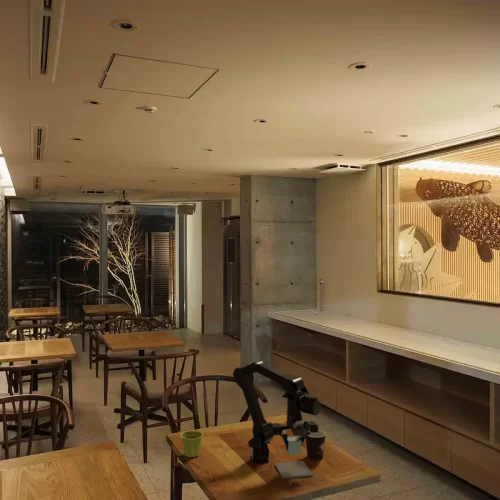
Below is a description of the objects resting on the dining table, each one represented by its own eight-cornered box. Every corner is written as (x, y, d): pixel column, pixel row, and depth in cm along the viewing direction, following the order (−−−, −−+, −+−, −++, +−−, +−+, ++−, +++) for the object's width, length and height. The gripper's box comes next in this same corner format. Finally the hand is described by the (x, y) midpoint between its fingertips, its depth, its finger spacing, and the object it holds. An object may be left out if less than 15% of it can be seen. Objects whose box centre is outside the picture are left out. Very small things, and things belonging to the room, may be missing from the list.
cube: (289, 455, 200) (289, 442, 200) (285, 449, 205) (285, 437, 205) (301, 454, 201) (301, 441, 201) (297, 448, 206) (297, 436, 206)
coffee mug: (312, 463, 210) (312, 438, 210) (300, 455, 218) (300, 431, 218) (335, 457, 216) (335, 434, 215) (323, 450, 223) (323, 427, 223)
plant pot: (197, 461, 211) (197, 440, 211) (176, 457, 214) (176, 437, 214) (206, 452, 220) (206, 432, 220) (186, 449, 223) (186, 429, 223)
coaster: (282, 478, 196) (282, 476, 196) (274, 465, 208) (274, 463, 208) (312, 476, 199) (312, 474, 199) (303, 463, 210) (303, 461, 210)
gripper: (276, 418, 193) (275, 459, 193) (323, 415, 197) (322, 456, 197) (269, 408, 204) (268, 447, 204) (314, 406, 208) (313, 444, 208)
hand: (293, 449), depth 203 cm, fingers closed on cube, 5 cm apart
